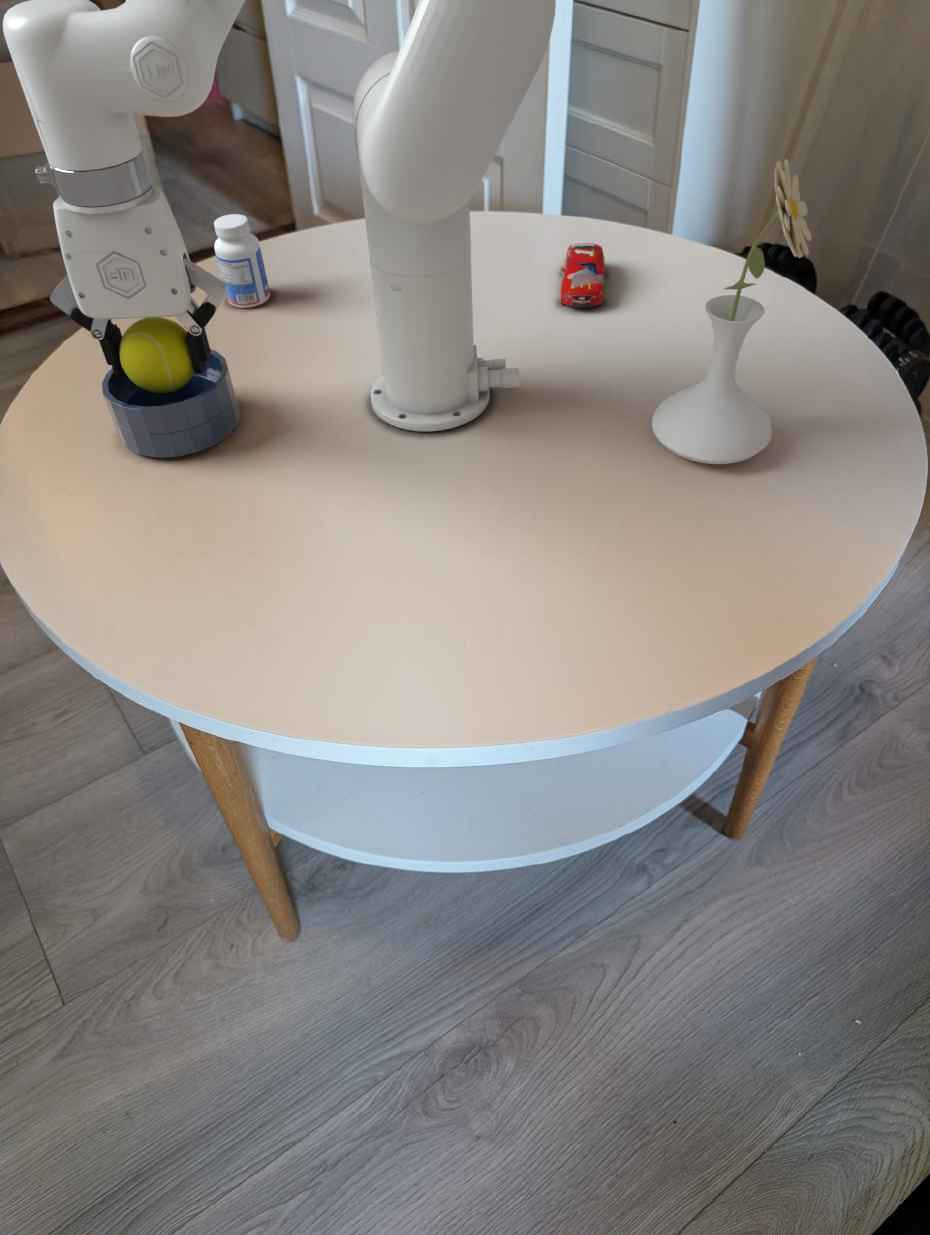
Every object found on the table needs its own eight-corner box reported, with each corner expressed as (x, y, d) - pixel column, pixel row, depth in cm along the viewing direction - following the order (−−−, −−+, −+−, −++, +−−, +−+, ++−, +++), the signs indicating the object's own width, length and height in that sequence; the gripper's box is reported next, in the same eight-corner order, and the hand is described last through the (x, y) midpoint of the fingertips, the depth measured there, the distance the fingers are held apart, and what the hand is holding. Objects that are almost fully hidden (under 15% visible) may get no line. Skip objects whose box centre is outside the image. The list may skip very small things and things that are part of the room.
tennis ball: (182, 410, 85) (162, 344, 79) (119, 401, 86) (95, 336, 81) (216, 373, 89) (198, 308, 84) (155, 365, 91) (134, 301, 86)
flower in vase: (728, 491, 80) (793, 213, 62) (626, 444, 86) (659, 177, 68) (797, 428, 87) (874, 160, 69) (698, 389, 92) (745, 131, 74)
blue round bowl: (248, 392, 95) (235, 341, 91) (230, 458, 87) (215, 406, 82) (136, 397, 95) (119, 346, 91) (108, 464, 87) (87, 412, 82)
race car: (602, 314, 105) (605, 282, 102) (557, 312, 105) (558, 280, 102) (606, 264, 113) (609, 233, 111) (565, 263, 114) (566, 232, 111)
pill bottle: (249, 285, 113) (232, 207, 106) (279, 295, 111) (264, 217, 104) (218, 302, 110) (198, 223, 103) (248, 313, 108) (230, 233, 101)
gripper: (-16, 200, 71) (63, 393, 84) (198, 191, 71) (245, 385, 83) (14, 166, 76) (85, 352, 89) (214, 158, 76) (256, 345, 89)
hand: (162, 367), depth 86 cm, fingers closed on tennis ball, 7 cm apart
